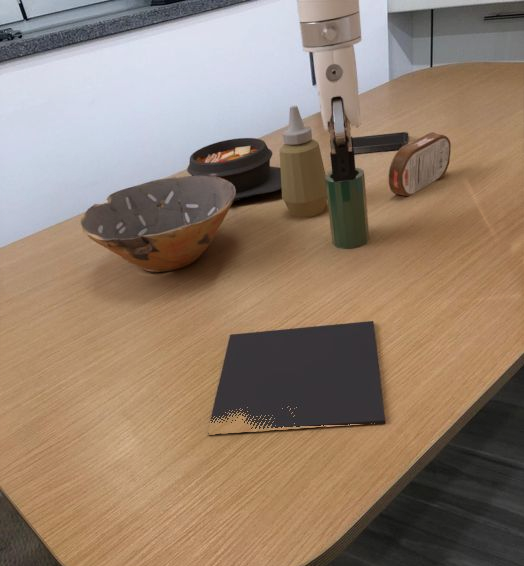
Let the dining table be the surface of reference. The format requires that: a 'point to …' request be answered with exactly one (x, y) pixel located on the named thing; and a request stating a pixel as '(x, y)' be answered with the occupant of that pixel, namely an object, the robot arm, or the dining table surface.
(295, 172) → the squeeze bottle
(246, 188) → the casserole
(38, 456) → the dining table surface
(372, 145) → the phone
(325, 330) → the mat
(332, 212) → the pen holder
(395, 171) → the tin
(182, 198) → the bowl
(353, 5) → the robot arm
